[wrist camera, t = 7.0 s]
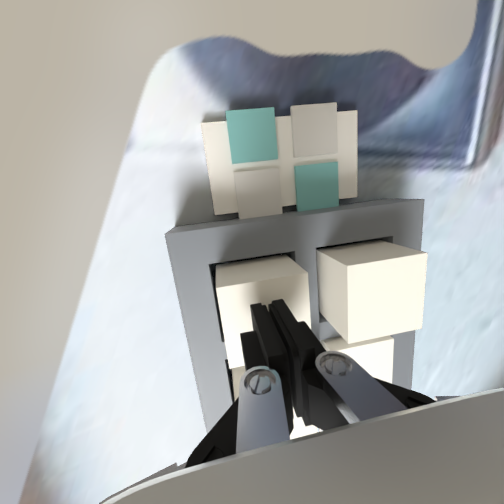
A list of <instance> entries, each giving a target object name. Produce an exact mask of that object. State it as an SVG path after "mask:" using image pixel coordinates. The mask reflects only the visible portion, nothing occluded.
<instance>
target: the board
mask: <svg viewBox="0 0 504 504" xmlns="http://www.w3.org/2000/svg"><path fill="white" fill-rule="evenodd" d="M225 113H226V121H219V122H207V123H201V129H202V136H203V142H204V149H205V155H206V162H207V168H208V175H209V181H210V187H211V194H212V200H213V207H214V213H215V215H221V214H228V213H236V212H238V214H239V218H237V219H230V220H222V221H215V222H207V223H200V224H192V225H184V226H177V227H174V228H172V229H171V230H170V231H168V232H167V233H166V234H165V238H166V243H167V248H168V252H169V257H170V262H171V267H172V271H173V276H174V281H175V285H176V290H177V295H178V299H179V304H180V309H181V313H182V318H183V323H184V328H185V332H186V337H187V342H188V346H189V351H190V356H191V360H192V365H193V370H194V374H195V379H196V384H197V389H198V393H199V398H200V403H201V407H202V412H203V417H204V421H205V426H206V431H207V434H208V433H209V431H210V430H211V429H212V428H213V427H214V426H215V424H216V423H217V422H218V421H219V420H220V418H221V417H222V416H223V415H224V414H225V412H226V411H227V410H228V409H229V408H230V406H231V405H232V404H233V403H234V402H235V398H234V387H233V386H232V381H231V375H230V369H229V363H228V357H227V351H226V345H225V339H224V333H223V327H222V321H221V315H220V309H219V303H218V297H217V291H216V285H215V279H214V273H213V267H212V264H213V263H219V262H226V261H232V260H239V259H245V258H252V257H258V256H265V255H271V254H278V253H282V255H285V254H286V255H287V256H288V257H289V258H291V259H292V260H293V261H294V262H296V263H297V264H298V265H299V266H300V267H302V268H303V269H304V270H305V271H306V272H308V282H309V300H310V317H311V330H312V332H313V333H314V334H315V336H316V337H317V339H318V340H319V341H320V340H324V339H329V338H333V337H338V336H341V335H340V334H339V333H338V332H337V331H336V330H335V329H334V327H333V326H332V325H331V324H330V323H329V322H328V321H327V320H326V319H325V317H324V316H323V315H322V314H321V313H320V312H319V301H318V286H317V265H316V248H317V247H323V246H330V245H336V244H343V243H349V242H356V241H362V242H369V241H375V240H381V241H385V242H389V243H392V244H396V245H400V246H404V247H408V248H411V249H415V250H419V251H421V240H422V225H423V211H424V199H381V200H373V201H366V202H358V203H351V204H343V205H339V199H344V198H352V197H357V110H354V111H341V112H337V102H335V103H321V104H308V105H295V106H291V107H290V113H291V116H280V117H275V114H274V107H269V108H256V109H243V110H230V111H226V112H225ZM290 205H297V211H290V212H283V211H282V207H283V206H290ZM390 336H391V337H392V338H394V349H393V372H392V384H395V385H398V386H401V387H404V388H406V389H409V390H411V386H412V371H413V356H414V342H415V330H412V331H407V332H403V333H398V334H393V335H390Z"/></svg>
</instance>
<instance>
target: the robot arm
mask: <svg viewBox="0 0 504 504" xmlns="http://www.w3.org/2000/svg"><path fill="white" fill-rule="evenodd" d="M250 309H251V317H252V325H253V331H249V332H244V333H240V338H241V345H242V352H243V358H244V364H245V370H246V372H245V373H244V374H243V375H242V377H241V379H240V385H239V397H238V398H237V399H236V400H235V402H234V403H233V404H232V405H231V406H230V408H229V409H228V410H227V411H226V412H225V414H224V415H223V416H222V417H221V418H220V420H219V421H218V422H217V423H216V424H215V426H214V427H213V428H212V429H211V430H210V431H209V433H208V434H207V435H206V436H205V437H204V439H203V440H202V441H201V442H200V443H199V445H198V446H197V447H196V448H195V449H194V451H193V452H192V454H191V455H190V457H189V458H188V461H187V462H186V463H184V464H182V465H180V466H178V467H177V463H175V464H173V465H171V466H169V467H167V468H165V469H163V470H161V471H159V472H157V473H155V474H153V475H151V476H149V477H147V478H145V479H143V480H141V481H139V482H137V483H135V484H133V485H131V486H129V487H127V488H125V489H123V490H121V491H119V492H117V493H115V494H113V495H111V496H109V497H108V498H106V499H105V500H103V501H102V502H100V503H99V504H504V387H503V388H498V389H493V390H487V391H482V392H477V393H473V394H469V395H464V396H435V400H433V399H431V398H430V397H428V396H426V395H423V394H421V393H418V392H415V391H412V390H409V389H406V388H404V387H401V386H398V385H395V384H392V383H389V382H386V381H383V380H380V379H377V378H374V377H372V376H371V375H370V374H369V373H368V372H367V371H366V370H365V369H363V368H362V367H361V366H360V365H359V364H358V363H357V362H356V361H355V360H353V359H352V358H351V357H350V356H348V355H347V354H344V353H342V352H338V351H326V350H325V348H324V347H323V346H322V344H321V343H320V341H319V340H318V339H317V337H316V336H315V334H314V333H313V332H312V330H311V329H310V328H309V326H308V325H307V323H306V322H305V321H300V322H298V321H297V320H296V318H295V317H294V315H293V314H292V312H291V311H290V309H289V308H288V306H287V305H286V303H285V302H284V300H283V299H278V300H273V301H272V304H268V309H269V311H268V309H267V307H266V305H262V304H261V303H256V304H251V305H250ZM293 408H294V411H295V413H296V416H297V418H299V417H302V419H303V422H304V424H305V427H306V426H310V425H314V426H315V427H317V428H319V432H317V433H314V434H310V435H306V436H302V437H298V438H295V439H291V440H290V435H291V433H292V431H293V429H294V424H293V419H294V414H293Z"/></svg>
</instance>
